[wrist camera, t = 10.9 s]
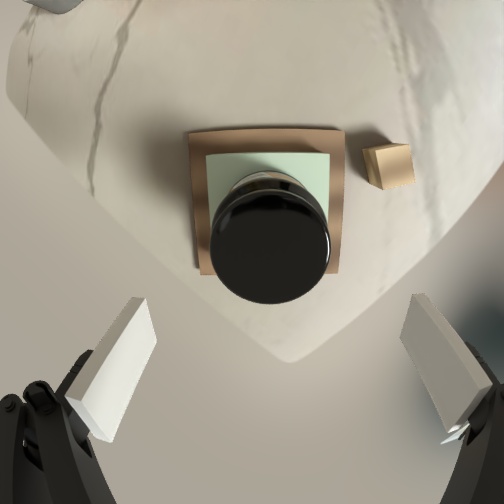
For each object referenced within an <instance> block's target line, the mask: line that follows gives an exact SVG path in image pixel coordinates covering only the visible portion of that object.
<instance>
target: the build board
mask: <svg viewBox="0 0 504 504" xmlns="http://www.w3.org/2000/svg"><path fill="white" fill-rule="evenodd" d="M188 137H189V155H190V171H191V184H192V197H193V209H194V220H195V230H196V240H197V249H198V258H199V267H200V275H217V274H216V273H215V271H214V268H213V266H212V263H211V259H210V251H209V245H210V237H211V225H210V212H209V198H208V183H207V167H206V156H207V155H211V154H225V153H247V152H320V153H327V154H330V167H329V206H328V230H329V233H330V238H331V256H330V261H329V264H328V267H327V269H326V271H325V273H324V274H332V273H338V267H339V257H340V246H341V234H342V220H343V202H344V177H345V131H336V130H317V129H244V130H225V131H211V132H199V133H189V134H188Z"/></svg>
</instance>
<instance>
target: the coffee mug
mask: <svg viewBox="0 0 504 504" xmlns="http://www.w3.org/2000/svg"><path fill="white" fill-rule="evenodd" d="M23 1H25V2H27V3H30V4H33V5H36V6H38V7H41V8H43V9H46V10H48V11H51V12H53V13H56V14H64V13H66V12H69V11H70V10H72V9H73V8H75V7H76V6H77V5H79V4H80V3H81V2H82V1H83V0H23Z"/></svg>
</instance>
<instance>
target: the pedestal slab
mask: <svg viewBox="0 0 504 504" xmlns="http://www.w3.org/2000/svg"><path fill="white" fill-rule="evenodd" d="M206 167H207V183H208V198H209V212H210V225H212V220H213V217H214V214H215V212H216V210H217V208H218V206H219V204H220V203H221V202H222V200H223V199H224V198H225V197H226V196H227V194H228V193H229V191H230V190H231V188H232V187H233V186H234V185H235V184H236V183H237V182H238V181H239V180H240V179H242V178H243V177H245V176H247V175H249V174H251V173H254V172H258V171H263V170H274V171H280V172H283V173H286V174H288V175H290V176H292V177H294V178H295V179H297V180H298V181H299V182H301V183H302V184H303V186H304V187H305V188H306V189H307V191H309V192H310V193H311V194H312V195H313V196H314V197H315V198H316V200H317V201H318V202H319V204H320V205H321V207H322V209H323V211H324V213H325V216H326V219H327V223H328V206H329V167H330V154H327V153H320V152H247V153H225V154H211V155H207V156H206Z"/></svg>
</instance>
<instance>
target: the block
mask: <svg viewBox="0 0 504 504" xmlns="http://www.w3.org/2000/svg"><path fill="white" fill-rule="evenodd" d="M362 151H363V155H364V160H365V164H366V169H367V174H368V179H369V184H371V185H373V186H376V187H378V188H380V189H382V190H385V189H389V188H393V187H398V186H402V185H406V184H411V183H415V176H414V169H413V163H412V157H411V152H410V147H409V144H398V143H391V144H385V145H380V146H374V147H369V148H364V149H362Z"/></svg>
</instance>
